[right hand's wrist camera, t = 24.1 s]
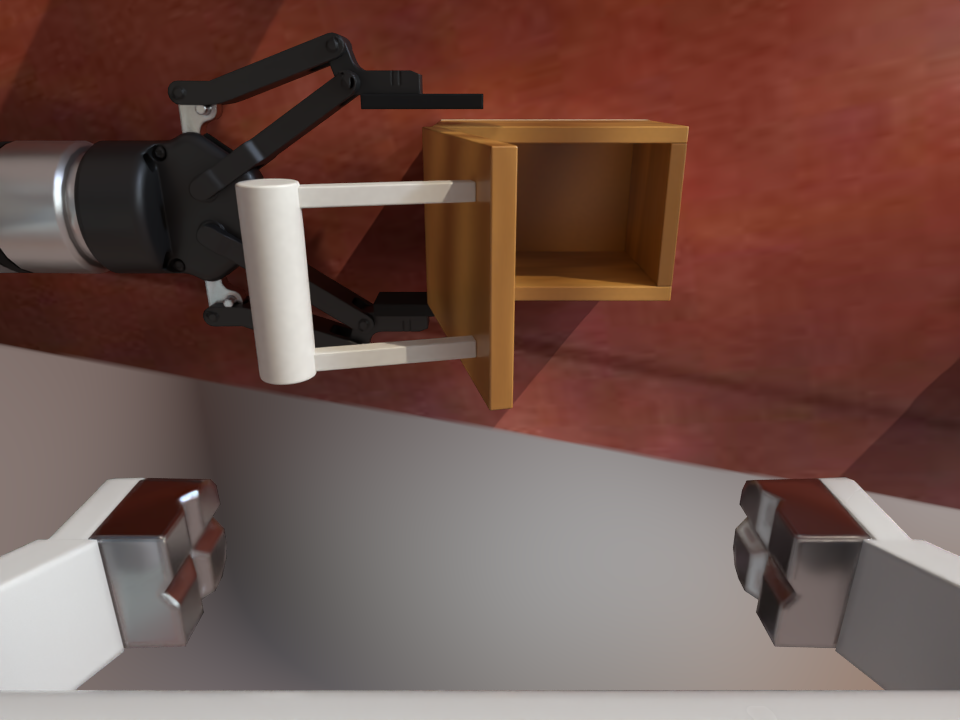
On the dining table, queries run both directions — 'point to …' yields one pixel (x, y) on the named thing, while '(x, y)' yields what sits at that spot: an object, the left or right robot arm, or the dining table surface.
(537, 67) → the dining table surface
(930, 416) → the dining table surface
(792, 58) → the dining table surface
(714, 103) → the dining table surface
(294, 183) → the lid
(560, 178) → the chest
